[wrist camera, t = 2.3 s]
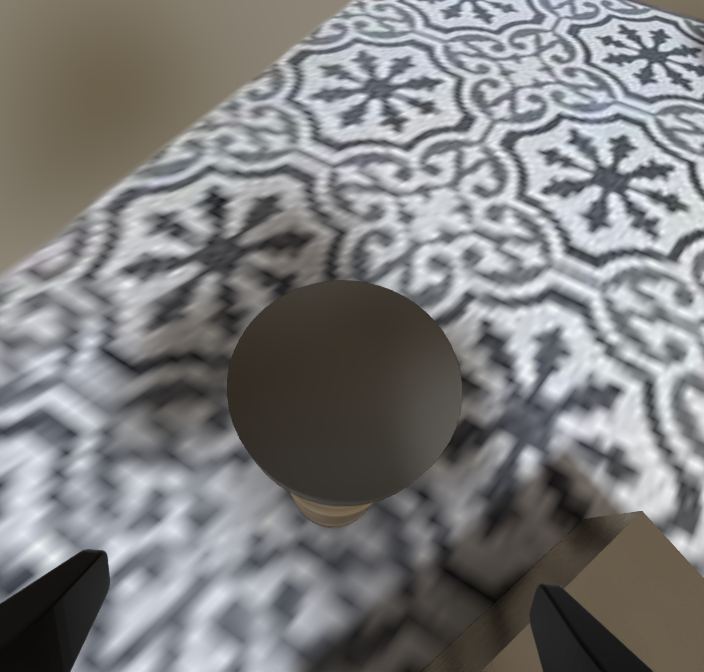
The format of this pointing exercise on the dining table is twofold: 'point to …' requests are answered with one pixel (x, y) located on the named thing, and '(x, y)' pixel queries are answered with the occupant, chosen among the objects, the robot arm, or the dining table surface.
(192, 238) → the dining table surface
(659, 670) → the grey square block
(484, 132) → the dining table surface
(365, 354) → the ash pin
